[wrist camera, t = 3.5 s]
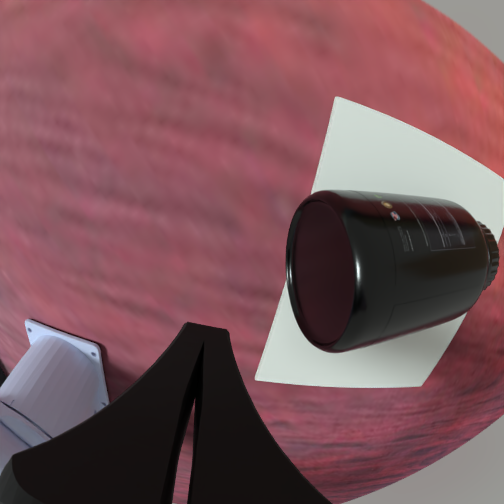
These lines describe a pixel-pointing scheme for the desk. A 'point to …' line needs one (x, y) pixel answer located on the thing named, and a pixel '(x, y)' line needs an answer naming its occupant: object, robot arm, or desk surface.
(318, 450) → the desk surface
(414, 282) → the supplement bottle
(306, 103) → the desk surface
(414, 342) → the mat
